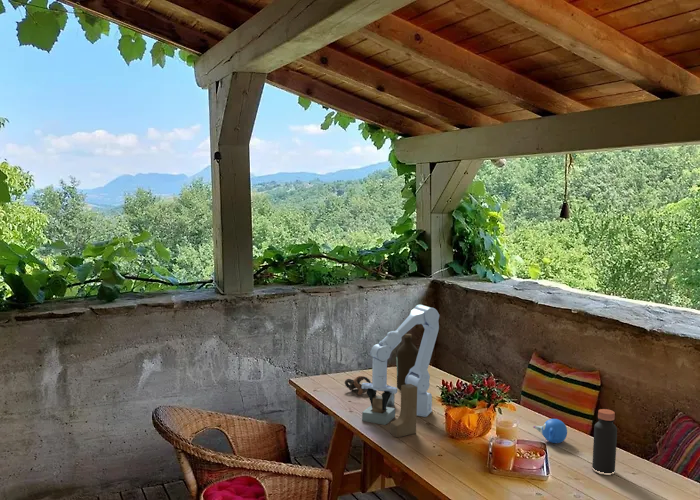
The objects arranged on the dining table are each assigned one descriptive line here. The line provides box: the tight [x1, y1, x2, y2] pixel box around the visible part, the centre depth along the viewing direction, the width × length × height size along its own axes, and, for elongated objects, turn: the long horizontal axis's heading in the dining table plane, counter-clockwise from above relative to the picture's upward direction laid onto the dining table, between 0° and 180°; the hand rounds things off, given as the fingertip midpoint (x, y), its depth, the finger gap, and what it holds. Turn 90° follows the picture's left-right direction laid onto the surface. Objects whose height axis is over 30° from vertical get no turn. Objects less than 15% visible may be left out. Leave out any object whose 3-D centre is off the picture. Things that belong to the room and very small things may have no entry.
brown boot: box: [389, 384, 418, 438], centre depth 224 cm, size 9×4×18 cm, turn 120°
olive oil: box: [395, 333, 419, 390], centre depth 280 cm, size 11×11×25 cm
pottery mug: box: [344, 375, 372, 396], centre depth 272 cm, size 12×10×8 cm
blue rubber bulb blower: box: [532, 418, 568, 444], centre depth 220 cm, size 12×12×8 cm
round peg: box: [386, 393, 396, 408], centre depth 256 cm, size 4×4×7 cm
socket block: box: [361, 405, 396, 426], centre depth 240 cm, size 10×10×4 cm
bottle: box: [591, 408, 618, 473], centre depth 195 cm, size 7×7×20 cm
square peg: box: [372, 394, 386, 413], centre depth 239 cm, size 4×4×7 cm
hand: (378, 408), depth 239 cm, fingers closed on square peg, 4 cm apart
